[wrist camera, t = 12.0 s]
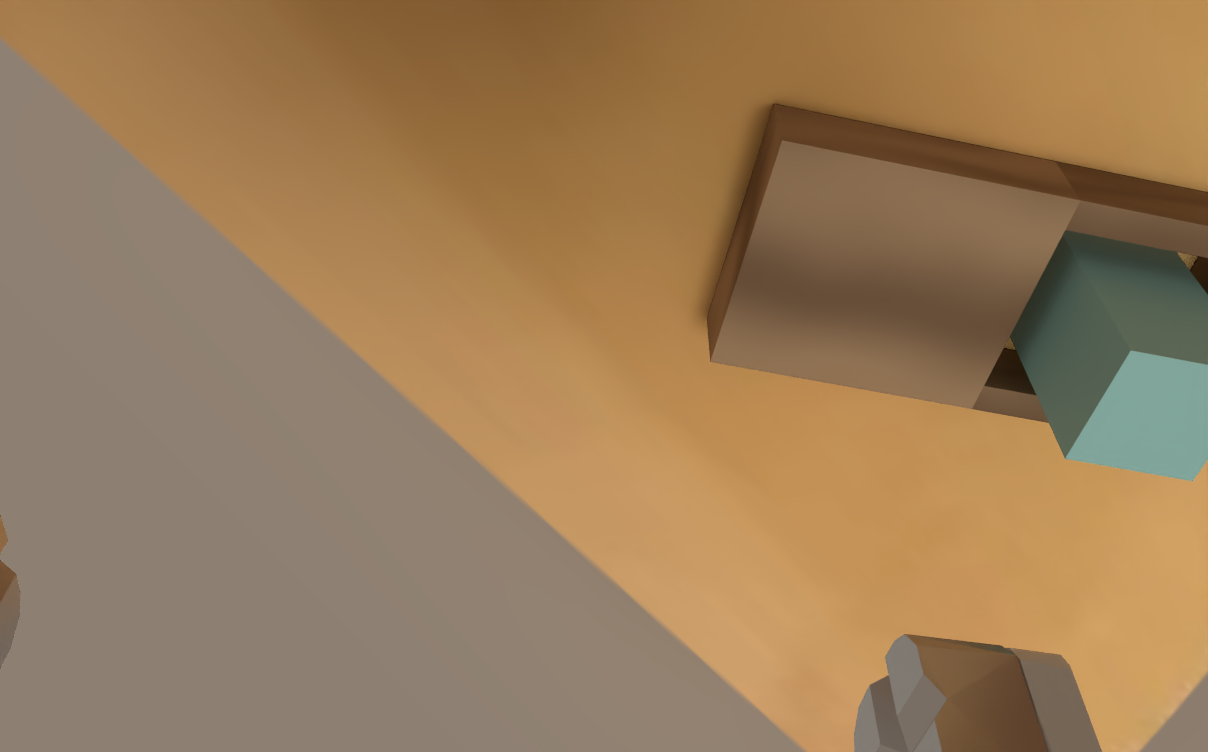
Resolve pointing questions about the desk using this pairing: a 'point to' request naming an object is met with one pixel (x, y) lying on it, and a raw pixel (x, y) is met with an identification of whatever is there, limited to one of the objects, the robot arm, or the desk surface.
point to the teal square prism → (1120, 355)
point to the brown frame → (914, 257)
